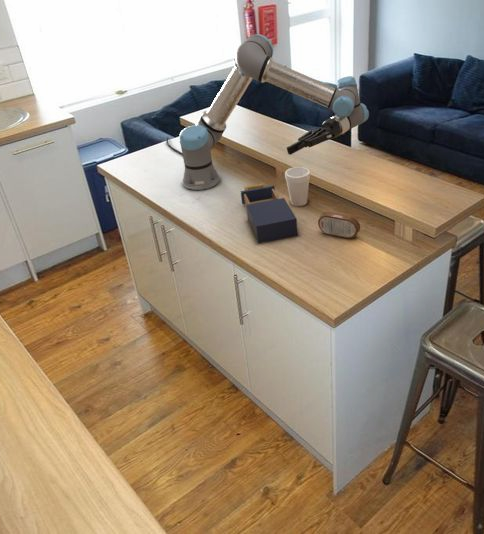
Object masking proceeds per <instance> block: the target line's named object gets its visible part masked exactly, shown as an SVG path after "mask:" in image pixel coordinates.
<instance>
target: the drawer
mask: <svg viewBox="0 0 484 534" xmlns="http://www.w3.org/2000/svg"><path fill="white" fill-rule="evenodd" d="M275 188H276V187H275V185H269V186H268V185H267V186H266V184H265V183H259V184H252V185H247V186H244V190H241V191H240V198H241V204H242V205H244V206H245V207H246V205H249V204H254V203H259V202H265V201H270V200H275V199H280V197H279V196H278V194H277V192H276V189H275Z"/></svg>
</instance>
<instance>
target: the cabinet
mask: <svg viewBox="0 0 484 534" xmlns="http://www.w3.org/2000/svg"><path fill="white" fill-rule="evenodd" d="M245 208H246V216H247V223H248V225H249V226H250V229H251V232H252V234H253V235H254V238H255V240H256V242H257V244H262V243H268V242H272V241H277V240H282V239H283V240H284V239H288V238H293V237H297V236H299V235H298V221H297V220H298V219H297V217H296V215H295V213H294V212H293V210H292V208H291V207H290V205H289V204H288V202H287V200H286V199H285V198H284V197H281V198H279V199H275V200H270V201H265V202H259V203H254V204H249V205H246V206H245Z"/></svg>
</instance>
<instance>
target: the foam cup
mask: <svg viewBox="0 0 484 534" xmlns="http://www.w3.org/2000/svg"><path fill="white" fill-rule="evenodd" d="M310 178H311V171H310V169H309V168H307V167H304V166H294V167H290V168H288V169H285V172H284V179H285V181H286V186H287V189H288V190H287V191H288V196H289V200H290V204H291V205H292V206H295V207H303V206H305V205H307V203H308V196H309V186H310Z"/></svg>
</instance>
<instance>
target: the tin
mask: <svg viewBox="0 0 484 534" xmlns="http://www.w3.org/2000/svg"><path fill="white" fill-rule="evenodd" d="M317 225H318V228H319V230H320V231H321V232H322V233H323V234H325V235H329V236H333V237H338V238H343V239H353V238H355V237H356V236H357V235H358V233H359V232H360V230H361V224H360V222H359V221H358V219H357V218H355V217H354V216H352V215H349V214H345V213H344V214H342V213H337V212H333V211H325V212H323V213H322V214H321V215H320V216H319V218H318V221H317Z"/></svg>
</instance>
